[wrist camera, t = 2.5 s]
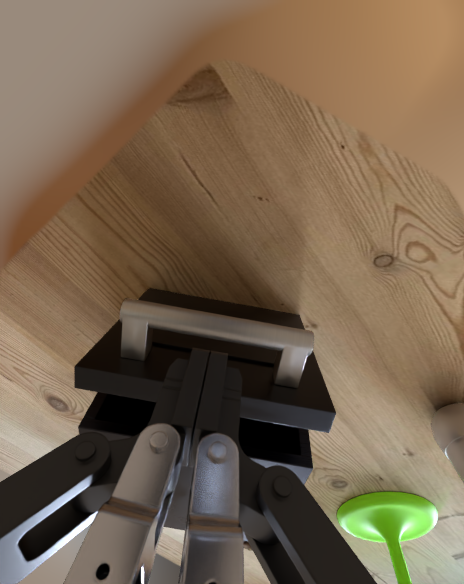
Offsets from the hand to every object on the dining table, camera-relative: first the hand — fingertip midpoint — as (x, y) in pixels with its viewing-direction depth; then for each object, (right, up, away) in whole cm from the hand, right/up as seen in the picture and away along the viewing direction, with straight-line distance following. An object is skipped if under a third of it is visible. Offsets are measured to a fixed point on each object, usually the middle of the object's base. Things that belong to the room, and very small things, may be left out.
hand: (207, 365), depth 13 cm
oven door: (0, +3, +19) cm, 19 cm away
